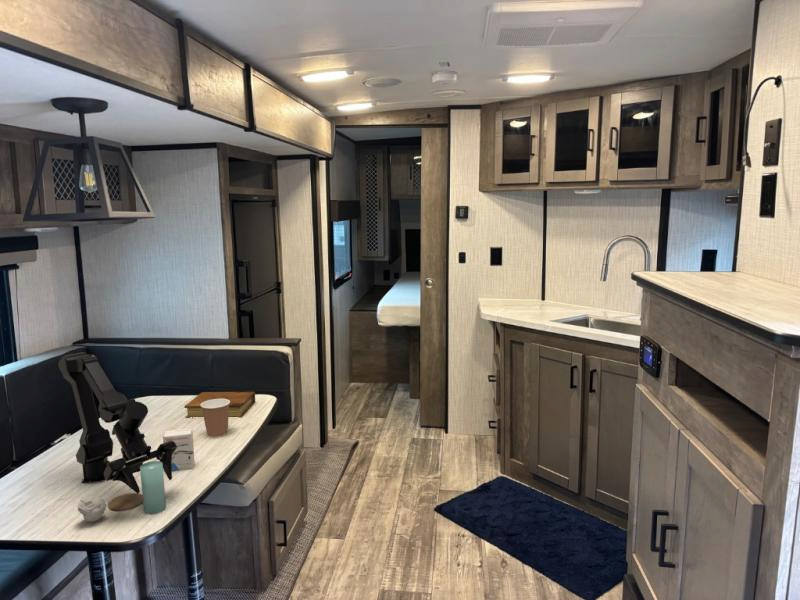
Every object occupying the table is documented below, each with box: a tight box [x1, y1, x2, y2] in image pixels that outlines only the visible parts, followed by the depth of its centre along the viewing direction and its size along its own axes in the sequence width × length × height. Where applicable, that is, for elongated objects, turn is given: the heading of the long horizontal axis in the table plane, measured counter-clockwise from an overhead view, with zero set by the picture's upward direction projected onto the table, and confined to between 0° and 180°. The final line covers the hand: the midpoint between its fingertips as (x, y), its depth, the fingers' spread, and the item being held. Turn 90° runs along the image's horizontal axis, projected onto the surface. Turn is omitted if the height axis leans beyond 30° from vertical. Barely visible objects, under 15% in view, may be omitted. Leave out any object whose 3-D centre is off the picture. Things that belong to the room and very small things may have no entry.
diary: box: [184, 391, 256, 419], centre depth 232 cm, size 23×19×6 cm
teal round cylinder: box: [139, 460, 167, 515], centre depth 151 cm, size 6×6×12 cm
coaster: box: [107, 492, 143, 512], centre depth 155 cm, size 9×9×1 cm
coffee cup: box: [201, 399, 230, 438], centre depth 204 cm, size 10×10×12 cm
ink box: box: [162, 428, 195, 472], centre depth 177 cm, size 9×5×12 cm, turn 105°
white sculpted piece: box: [76, 495, 107, 523], centre depth 146 cm, size 6×7×7 cm
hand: (155, 485), depth 150 cm, fingers open, 9 cm apart
